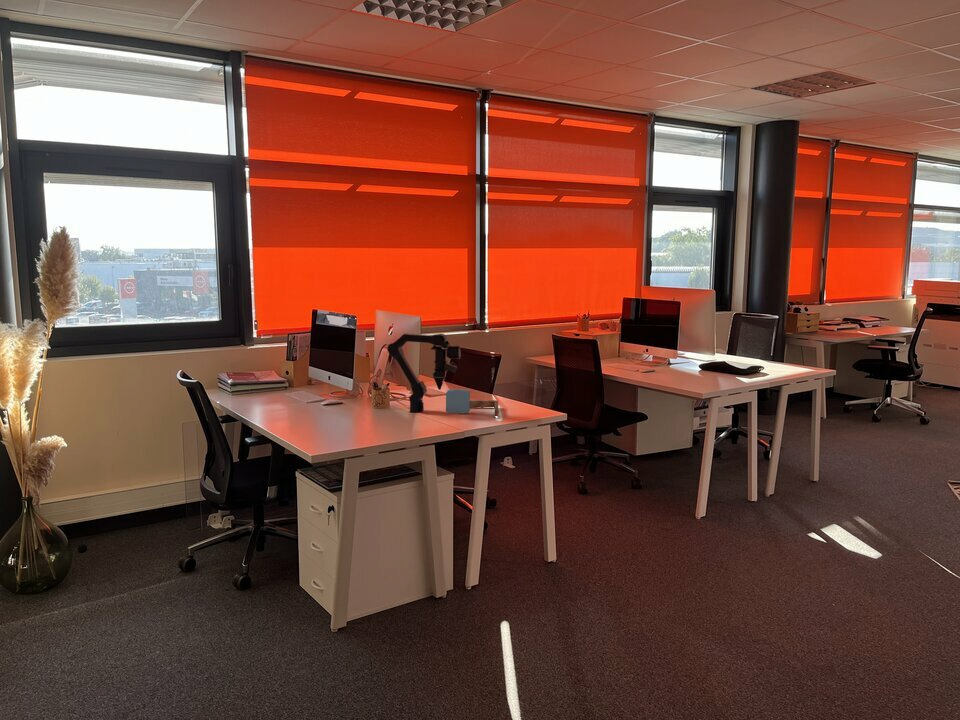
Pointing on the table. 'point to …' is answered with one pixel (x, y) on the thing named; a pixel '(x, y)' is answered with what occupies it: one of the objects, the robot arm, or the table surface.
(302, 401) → the table surface
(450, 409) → the data package
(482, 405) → the brown angled bar
